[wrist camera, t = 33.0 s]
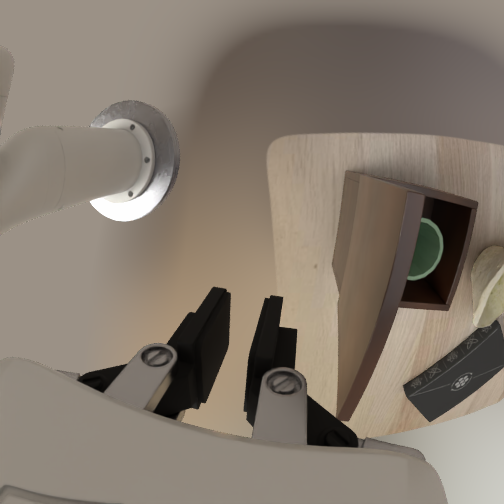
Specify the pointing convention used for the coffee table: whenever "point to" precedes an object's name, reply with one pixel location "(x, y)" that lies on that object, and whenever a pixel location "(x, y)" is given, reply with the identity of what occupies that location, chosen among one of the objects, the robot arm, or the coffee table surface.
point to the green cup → (426, 250)
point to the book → (458, 373)
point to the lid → (373, 281)
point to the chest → (450, 225)
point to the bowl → (488, 286)
